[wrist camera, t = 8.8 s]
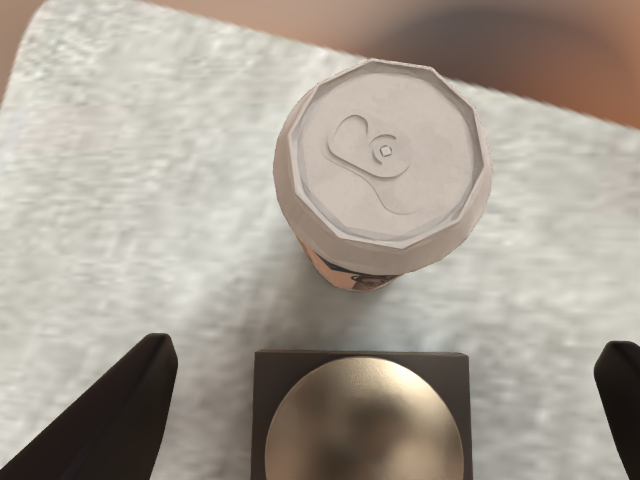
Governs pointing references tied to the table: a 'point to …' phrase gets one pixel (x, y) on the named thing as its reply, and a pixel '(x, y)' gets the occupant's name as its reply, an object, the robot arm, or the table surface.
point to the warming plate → (363, 426)
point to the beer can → (381, 172)
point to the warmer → (291, 365)
